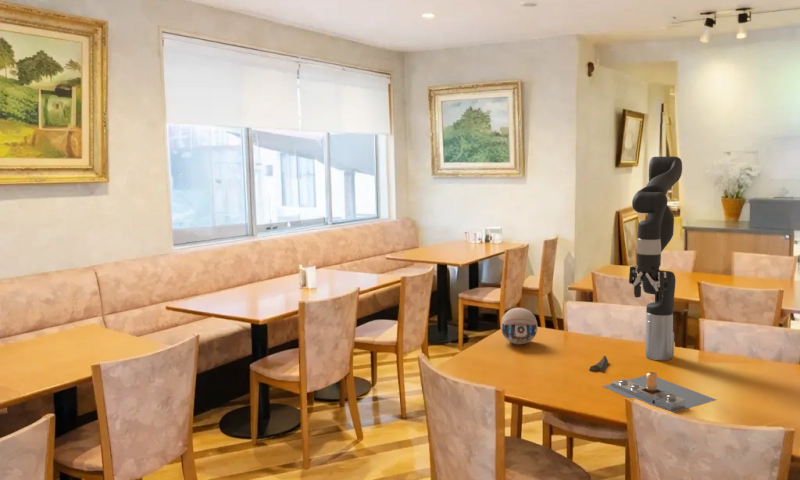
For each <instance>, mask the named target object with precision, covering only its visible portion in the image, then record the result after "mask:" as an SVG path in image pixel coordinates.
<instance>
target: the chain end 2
mask: <svg viewBox="0 0 800 480" xmlns="http://www.w3.org/2000/svg"><path fill="white" fill-rule="evenodd" d="M636 393H638V394H640V395H643V396H645V397H647V398H650V399H652V400H654V401H655V405H657V406H660V407H662V408H664V409H667V410H669V411H674V410H677V409H680V408H684V407H685V399H682V398H680V397H677V396H676V395H673V394H670V393H667V392H665V391H662V390H660V389H657V390H656V393H655V394H650V393H647V392H646V387H643V388H639V389H636Z"/></svg>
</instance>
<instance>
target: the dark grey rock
mask: <svg viewBox="0 0 800 480" xmlns="http://www.w3.org/2000/svg"><path fill="white" fill-rule="evenodd" d="M608 366H609V360H608V358H607V356H606V355H603V356H602V358H601V360H600V361H598V362H597V363H596V364H594V365H591V366H590V367H589V368H588V371H589V372H596V371H597V372H600V373H605V372H606V371H607V369H608Z"/></svg>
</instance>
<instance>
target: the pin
mask: <svg viewBox="0 0 800 480" xmlns="http://www.w3.org/2000/svg"><path fill="white" fill-rule="evenodd" d="M646 375H647V376H646V392H647V393H650V394H655V393H656V390H657V377H658V374H657V373H656V372H653V371H648V372H646Z"/></svg>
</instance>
